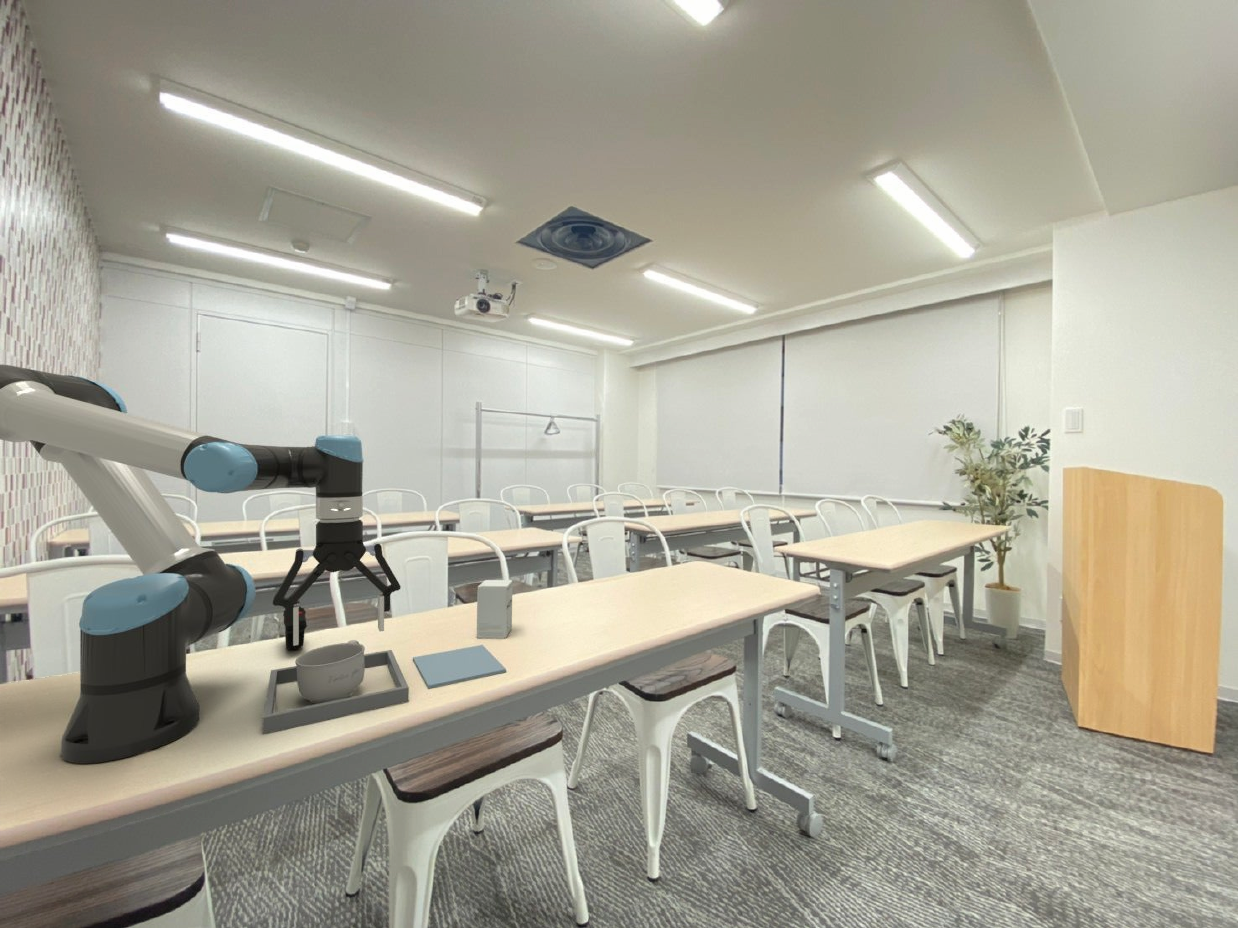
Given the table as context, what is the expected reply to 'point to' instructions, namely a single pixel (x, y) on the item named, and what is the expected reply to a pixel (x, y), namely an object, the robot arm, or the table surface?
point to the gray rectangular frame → (335, 707)
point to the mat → (457, 666)
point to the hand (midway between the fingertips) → (340, 636)
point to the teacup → (330, 671)
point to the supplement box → (494, 609)
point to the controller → (290, 630)
